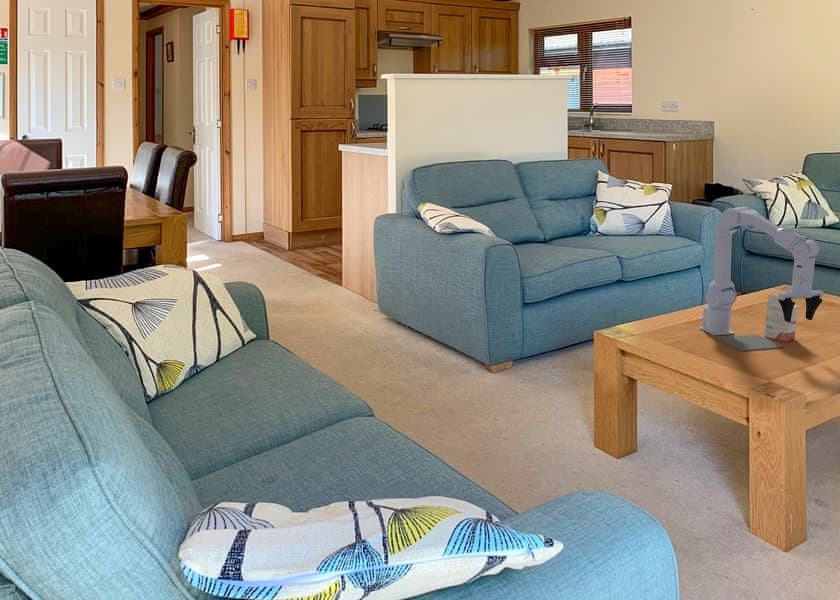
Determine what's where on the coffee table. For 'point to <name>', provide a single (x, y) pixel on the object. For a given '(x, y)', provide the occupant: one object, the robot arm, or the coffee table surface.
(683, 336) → the coffee table surface
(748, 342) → the mat
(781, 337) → the ink cartridge box
